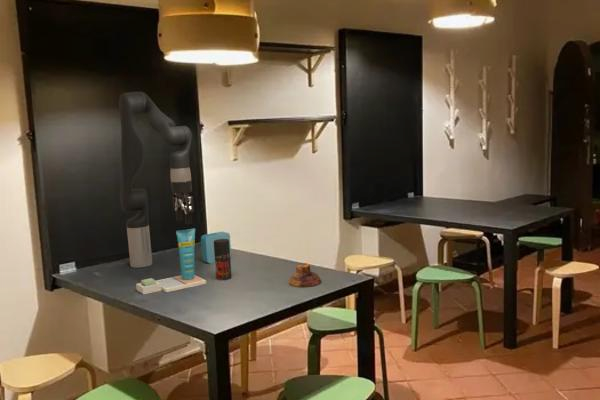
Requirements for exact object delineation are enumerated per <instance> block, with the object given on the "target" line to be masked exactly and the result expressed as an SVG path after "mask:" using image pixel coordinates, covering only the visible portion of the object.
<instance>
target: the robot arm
mask: <svg viewBox="0 0 600 400" xmlns="http://www.w3.org/2000/svg"><path fill="white" fill-rule="evenodd" d="M118 108H119V117H120V119H119V120H120V131H121V133H120V135H121V142H120V143H121V144H120V145H121V147H120V152H121V153H120V156H121V157H120V158H121V159H120V161H121V183H120V184H121V185H120V207H121V209H122V211H123V212H124V213H125V212H127V213H128V212H137V211H138V212H137V213H136V214H135V215H134V216H133V217H131V218H129V219H127V220H126V223H125V225H126V233H127V234H126V235H127V241H128V242H127V243H128V254H129V262H130V263H129V266H130V267H131V268H139V269H140V268H146V267H150V266H152V265H153V256H152V247H151V246H152V245H151V236H150V235H151V234H150V222H149V217H150V215H149V198H148V193H147V191H146V189H144V188H134V189H133V188H132V186H133V181H134V179H135V177H136V176H137V175H138V173H139V172H140V170H141V168H142V167H143V165H144V161H145V144H144V142H143V141H142V139H141V138H140V136H139V135H138V133H137V131H136V130H135V127H134V126H133V125H134V124H133V117H134V116H142V115H146V116H148V123H149V125H150V128H152V129H153V131H155V132H156V133H158V134H159V135H160V137H161V139H162V140H163V142H164V144H166V145H167V146H170V147H174V146H175V147H176V146H178V149H177V150H175V151H173V152H171V153H170V154H169V163H170V165H169V166H170V172H169V173H170V187H171V193H172V196H171V197H172V208H173V210H174V211H175V216H176V221H177V222H181V221H183V220H184V217H185V224H187V225H191V224H192V223H193V219H192V217H193V216H192V214H193V213H195V206H194V197H193V196H189V193H191V192H193V187H192V186H193V185H192V174H191V169H190V151H191V146H192V142H193V141H192V140H193V134H192V133H193V132H192V131H191V129H190V127H188V126H187V125H180V126H178V125H177V126H176V124H175V121H173V120H172V118H170V117H168V116H167V115H166V114H165V113H164V112H162V111H161V110H160V109H159V107H158V106H157V105H156V103H155V102H154V101H153V100H152V99H151V98H150V97H149V95H148V94H146V93H145V92H143V91H132V92H131V91H130V92H123V93H122V94H121V95H120V96H119V101H118ZM182 210H183V211H184V212H183V211H182ZM183 213H184V214H185V216H184V217H183Z"/></svg>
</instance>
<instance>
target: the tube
mask: <svg viewBox="0 0 600 400" xmlns="http://www.w3.org/2000/svg"><path fill="white" fill-rule="evenodd" d="M175 233H176V234H175V235H176V238H177V245H178V252H179V253H178V254H179V263H180V265H179V266H180V276H182V279H183V280H191V279H194V278H195V276H196V274H195V273H196V272H195V271H196V270H195V239H196V228H190V229H183V230H182V229H181V230H176V232H175Z"/></svg>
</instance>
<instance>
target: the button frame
mask: <svg viewBox="0 0 600 400" xmlns="http://www.w3.org/2000/svg"><path fill="white" fill-rule="evenodd" d="M155 282H156V284H154V285H150V286H143V285H141V282H139V283H136V284H135V286H136V288H135V289H136V291H137V292H139V293H140V294H142V295H147V294H151V293H152V294H153V293H156V292H161V291H163V290H162V289H161V284H160V283H158V282H157V280H155Z"/></svg>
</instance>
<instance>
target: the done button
mask: <svg viewBox="0 0 600 400" xmlns="http://www.w3.org/2000/svg"><path fill="white" fill-rule="evenodd" d="M140 281H141V282H140V283H141V285H143V286H150V285H154V284H156V282H155V281H156V280H155V279H154V278H152V277H150V278H146V279H145V278H144V279H141V280H140Z"/></svg>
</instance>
